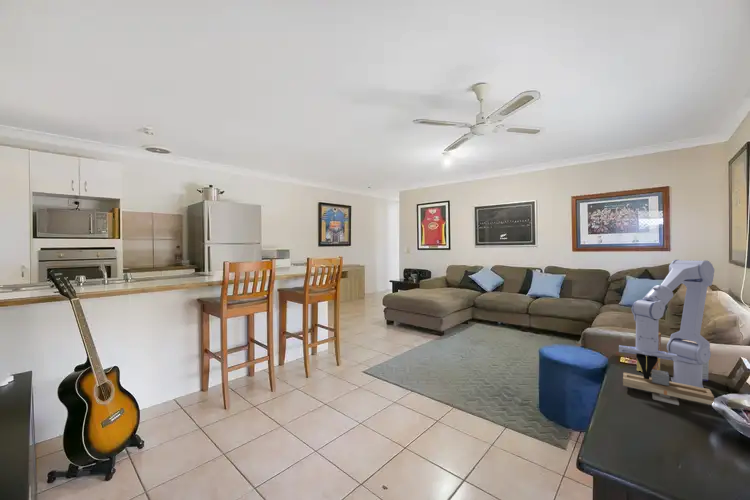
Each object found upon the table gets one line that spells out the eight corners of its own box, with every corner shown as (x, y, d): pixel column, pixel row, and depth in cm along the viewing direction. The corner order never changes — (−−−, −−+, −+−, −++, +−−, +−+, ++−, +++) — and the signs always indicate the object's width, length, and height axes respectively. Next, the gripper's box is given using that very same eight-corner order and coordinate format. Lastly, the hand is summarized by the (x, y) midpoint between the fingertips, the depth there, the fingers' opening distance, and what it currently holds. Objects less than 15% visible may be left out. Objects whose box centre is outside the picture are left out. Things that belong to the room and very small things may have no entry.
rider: (651, 381, 106) (651, 368, 106) (667, 384, 104) (667, 371, 104) (652, 386, 102) (652, 373, 102) (669, 389, 100) (669, 376, 100)
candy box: (647, 367, 129) (648, 329, 129) (660, 371, 125) (661, 332, 125) (636, 370, 125) (636, 331, 125) (649, 374, 122) (649, 334, 122)
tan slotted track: (623, 383, 113) (623, 371, 113) (708, 402, 99) (708, 388, 99) (622, 392, 106) (623, 379, 106) (714, 413, 92) (714, 398, 92)
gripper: (618, 335, 107) (618, 375, 107) (678, 343, 98) (677, 388, 98) (619, 331, 112) (619, 369, 112) (675, 339, 103) (675, 380, 103)
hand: (646, 377), depth 105 cm, fingers closed
